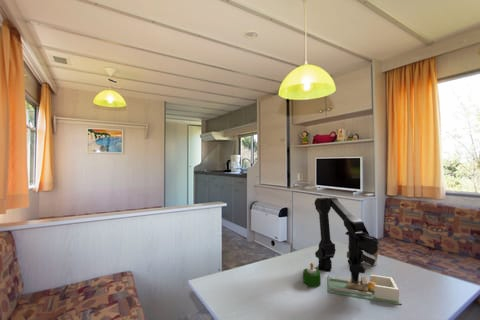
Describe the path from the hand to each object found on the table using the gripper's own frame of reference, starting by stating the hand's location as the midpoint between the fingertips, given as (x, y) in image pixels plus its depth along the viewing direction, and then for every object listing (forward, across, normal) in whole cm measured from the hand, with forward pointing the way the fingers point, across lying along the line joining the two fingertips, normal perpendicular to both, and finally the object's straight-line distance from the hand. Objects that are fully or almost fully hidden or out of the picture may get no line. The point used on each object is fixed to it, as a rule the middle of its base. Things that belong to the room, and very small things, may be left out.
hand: (355, 279), depth 114 cm
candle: (+5, -1, +20) cm, 20 cm away
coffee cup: (+5, +34, -12) cm, 36 cm away
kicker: (+4, 0, -1) cm, 4 cm away
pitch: (+4, 0, -3) cm, 6 cm away
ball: (+2, 0, -7) cm, 8 cm away
